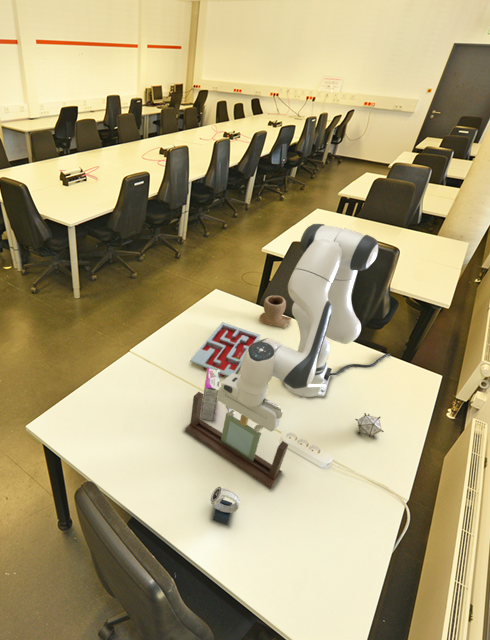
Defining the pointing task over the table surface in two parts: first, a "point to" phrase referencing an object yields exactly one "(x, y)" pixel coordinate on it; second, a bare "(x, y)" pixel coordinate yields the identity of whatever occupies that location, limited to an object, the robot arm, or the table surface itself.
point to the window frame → (212, 439)
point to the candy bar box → (210, 394)
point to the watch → (223, 504)
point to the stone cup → (274, 312)
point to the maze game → (225, 349)
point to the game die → (369, 425)
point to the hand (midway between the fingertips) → (243, 422)
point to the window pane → (240, 436)
